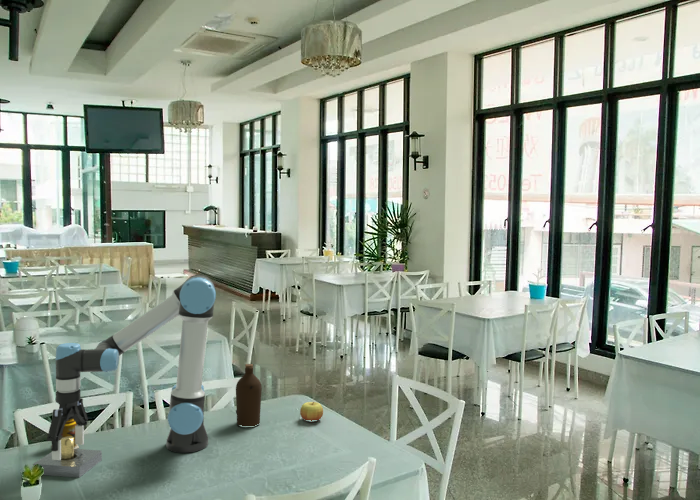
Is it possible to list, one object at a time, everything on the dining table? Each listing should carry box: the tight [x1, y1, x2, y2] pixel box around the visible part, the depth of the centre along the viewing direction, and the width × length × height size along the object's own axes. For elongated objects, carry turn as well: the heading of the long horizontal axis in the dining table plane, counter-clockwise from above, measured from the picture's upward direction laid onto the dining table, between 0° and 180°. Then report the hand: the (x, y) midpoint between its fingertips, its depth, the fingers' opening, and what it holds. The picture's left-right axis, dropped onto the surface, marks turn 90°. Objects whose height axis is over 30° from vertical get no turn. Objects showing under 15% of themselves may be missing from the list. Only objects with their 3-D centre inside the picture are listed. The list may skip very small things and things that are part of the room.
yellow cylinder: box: [61, 436, 74, 460], centre depth 203 cm, size 4×4×10 cm
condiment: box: [50, 416, 80, 449], centre depth 220 cm, size 7×8×12 cm
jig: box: [32, 448, 103, 478], centre depth 203 cm, size 16×14×4 cm
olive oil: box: [235, 363, 263, 426], centre depth 248 cm, size 11×11×25 cm
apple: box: [299, 401, 324, 421], centre depth 255 cm, size 10×10×8 cm
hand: (68, 451), depth 203 cm, fingers open, 13 cm apart
